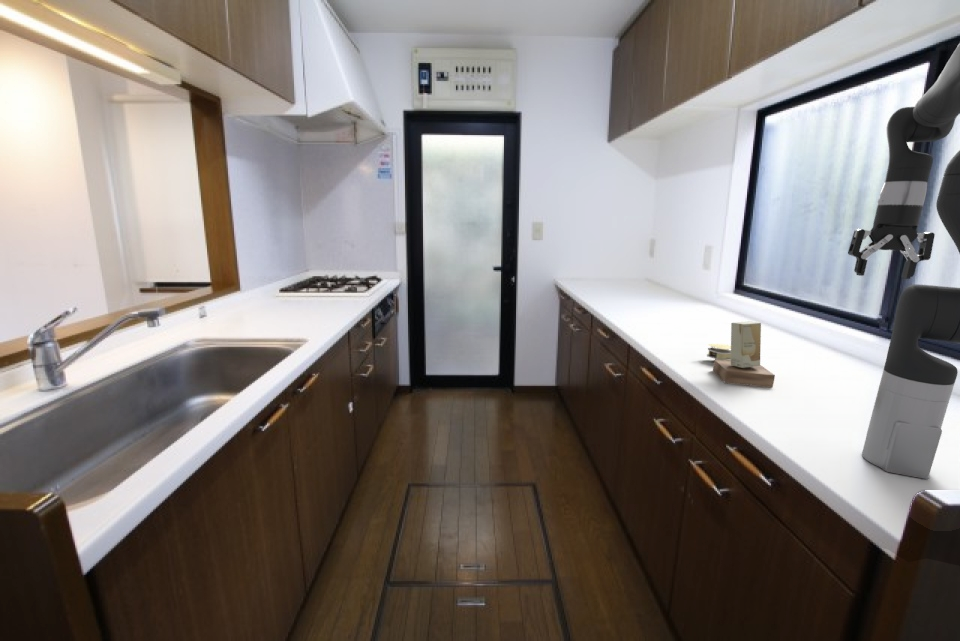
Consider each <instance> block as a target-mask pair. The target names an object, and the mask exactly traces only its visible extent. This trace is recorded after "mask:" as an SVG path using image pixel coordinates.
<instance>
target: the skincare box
mask: <svg viewBox="0 0 960 641" xmlns="http://www.w3.org/2000/svg"><path fill="white" fill-rule="evenodd" d="M730 325H731V328H730V332H731V333H730V346H731V349H730V350H731V365H733V366H737V367H741V368H745V367H754V366H760V365H761V344H762V343H761V341H762V338H761V337H762V335H761V334H762V322H759V321H758V322H757V321H749V320H748V321H736V322H731V324H730Z"/></svg>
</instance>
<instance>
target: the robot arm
mask: <svg viewBox="0 0 960 641" xmlns="http://www.w3.org/2000/svg"><path fill="white" fill-rule="evenodd" d="M958 116H960V42H959V43H958V45H957V47H956V48H955V50H954V51H953V53H952V54H951V56H950V58H949V59H948V61H947V62H946V64H945V66H944V68H943V70H942V71H941V73H940V74H939V76H938V77H937V79H936V81H935V82H934V84H932V86H931V87H930V88H928V90H927V91H926V92H925V93H924V94H923V95H922V96H921V97H920V98H919V100H918V101H917V102H916V104H915V105H914V106H905V107H901V108H899V109H898V110H896V111H895V112H894V113H892V115H891V116H890V117H889V119H888V121H887V124H886V139H887V147H888V165H887V170H886V175H885V179H884V183H883V186H882V187H881V188H882V189H881V191H880V194H879V197H878V200H877V207H876V210H875V215H874V220H873V224H872V225H873V226H872V228H871V229H870V230H866V229H861V228H860V229H859V228H858V229H854V231H853V235H852V238H851V240H850V243H849V247H848V250H847V254H848V256H852V257H855V259H856V260H855V264H854V265H855V266H854V269H853V271H854V273H855V274H856V276H861V277H864V276H865V272H866V268H867V264H868V259H867V258H868V257H870V256H871V255H872V254H874V253H875V252H877V251H878V250H879V251H881V250H882V251H894V252H896V251H897V252H900V253H901V254H902V255H903V256H904V258H905V259H906V261H905V262H904V265H903V269H902V272H901V279H903V280H910V279H911V277H914V275H915V272H916V268H917V265H918V263H919V262H923V261H928V260H930V259H931V257H932V256H931V255H932V252H933V247H934V245H933V244H934V240H935V235H936V234H935V233H934V232H930V231H929V232H927V231H925V232H918V226H919V224H920V220H921V216H922V213H923V208H924V203H925V199H926V195H927V191H928V190H927V188H928V182H929V178H930V173H931V169H932V166H933V161H934V158H933V156H932V155H931V154H928V153H925V152H918V151H914V150H911V148H910V147H909V145H908V143H922V142H923V143H925V142H927V143H929V142H937V141H940V140H942V139H944V138H946V137H947V136H948V135H949V134H950V133H951V131H952V130H953V128H954V125H955V121H956V118H957V117H958ZM940 184H941V185H940V188H939V192H938V196H937V198H936V205H935V206H936V212H937V214H938V216H939V218H940V221H941V222H942V225H943V226H944V228H945V230H946V231H947V233H948V235H949V236H950V238H951V239H952V241H953V243H954V245H955V247H956V248H957V250H958V252H959V254H960V149H959V150H958V151H957V152H956V153H955V155H953V157H952V158H951V159H950V160H949V162H948V163H947V165H946V167H945V169H944V172H943V177H942V179H941V183H940ZM868 237H869V239H870V240H871V241H870V242H869V243H867V245H866V246H865V247H863V249H862V250H861V247H862V243H863V240H866V239H867V238H868ZM915 240H917V241H918V242H919V247H918V253H917V252H916V249H915V247H914V246H913V244H912V243H913V242H914V241H915ZM860 250H861V251H860ZM919 339H924V340H925V339H926V340H932V341H937V342H938V341H939V342H948V343H954V344H955V343H956V344H960V287H953V286H941V285H932V284H931V285H929V284H910V285H908V286H907V287H905V288H904V289H903V290H902V292H901V294H900V296H899V299H898V302H897V305H896V310H895V315H894V321H893V327H892V332H891V338H890V340H889V341H890V342H889V345H888V350H887V354H886V359H885V362H884V366H883V369H882V373H881V374H882V375H881V377H880V378H881V379H880V382H879V385H878V389H877V392H876V397H875V402H874V404H873V408H872V413H871V416H870V420H869V424H868V427H867V432H866V436H865V440H864V444H863V448H862V451H861V455H862V457H863V458H864V460H866V461H867V462H870V463H871V464H872V465H874V466H877V467H879V468H880V469H882V470H883V471H884V472H887V473H891V474H892V473H893V474H896V475H897V474H898V475H902V476H903V475H904V476H908V477H915V478H920V479H924V480H925V479H926V480H929V476H930V473H931V471H932V466H933V464H934V460H935V457H936V453H937V450H938V446H939V444H940V440H941V437H942V434H943V430H942V426H943V424H944V419H945V416H946V413H947V409H948V406H949V403H950V401H951V396H952V392H953V389H954V388H955V387H954V386H955V383H956V381H957V380H956V379H957V376H958V368H957V367H956V366H955V365H954V364H952V363H951V362H948V361H946V360H944V359H942V358H939V357H936V356H934V355H932V354H931V353H928V352H927V351H925V350H924V349H922V348H921V347H920V346H919Z"/></svg>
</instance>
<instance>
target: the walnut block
mask: <svg viewBox="0 0 960 641" xmlns="http://www.w3.org/2000/svg"><path fill="white" fill-rule="evenodd" d="M712 372H713V373H714V374H715V375H716V376H717V377H718V378H719V379H720V380H721V381H723V382H724V383H725V384H734V385H743V386H744V385H746V386H753V387H754V386H756V387H765V388H766V387H768V388H773V387H774V382H775V377H776V376H775V374H774V373H772V372H771V371H769V370H768V369H767V368H766V367H765V366H762V365H761V364H760V366H754V367H745V368H741V367H737V366H733V365H731V361H721V360H715V359H714V362H713V369H712Z"/></svg>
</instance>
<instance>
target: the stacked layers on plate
mask: <svg viewBox="0 0 960 641" xmlns="http://www.w3.org/2000/svg"><path fill="white" fill-rule="evenodd" d="M708 346H710V347H708V348H707V351H708V352H707V354H706V357H708V358H711V359H714V361H715V360H721V361H731V345H729V344H724V343H722V344H721V343H720V344H719V343H709V344H708Z"/></svg>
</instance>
